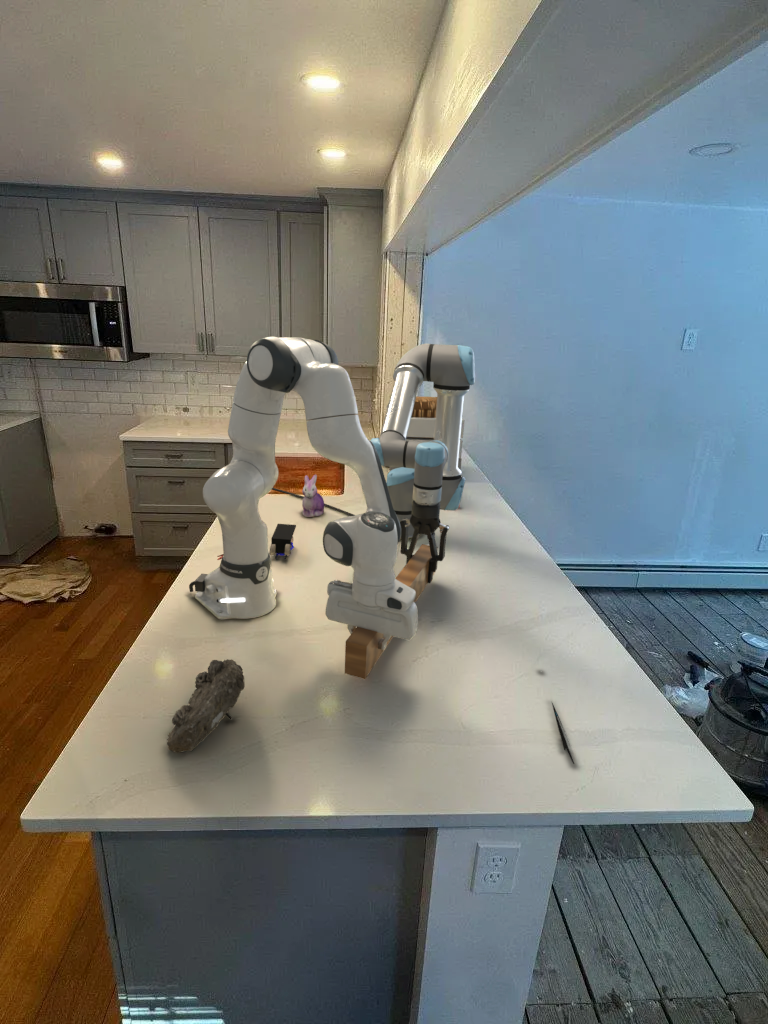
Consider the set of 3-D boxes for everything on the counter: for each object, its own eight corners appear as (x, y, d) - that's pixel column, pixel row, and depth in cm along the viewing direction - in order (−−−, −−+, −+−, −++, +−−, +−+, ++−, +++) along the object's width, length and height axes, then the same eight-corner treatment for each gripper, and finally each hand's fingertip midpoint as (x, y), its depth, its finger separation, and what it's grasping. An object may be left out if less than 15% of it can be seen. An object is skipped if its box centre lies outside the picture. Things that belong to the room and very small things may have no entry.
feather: (541, 676, 126) (546, 670, 126) (574, 768, 100) (581, 761, 99) (535, 672, 126) (540, 666, 126) (566, 764, 100) (573, 756, 99)
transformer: (382, 463, 289) (386, 382, 275) (445, 464, 293) (451, 384, 279) (390, 482, 257) (394, 392, 243) (460, 483, 261) (468, 394, 247)
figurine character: (291, 566, 174) (297, 542, 188) (290, 545, 171) (296, 522, 184) (269, 566, 174) (276, 541, 187) (268, 544, 171) (275, 521, 184)
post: (420, 568, 167) (422, 543, 164) (435, 571, 166) (437, 546, 163) (344, 673, 119) (345, 641, 116) (365, 679, 117) (366, 646, 114)
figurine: (305, 519, 209) (305, 480, 204) (296, 510, 217) (296, 472, 212) (329, 516, 213) (330, 478, 208) (319, 507, 222) (319, 470, 216)
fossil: (192, 660, 117) (244, 628, 112) (224, 691, 120) (276, 661, 115) (142, 746, 98) (202, 712, 93) (182, 779, 101) (242, 748, 96)
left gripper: (321, 584, 119) (319, 640, 124) (414, 606, 113) (408, 664, 118) (334, 572, 125) (331, 626, 130) (423, 592, 119) (417, 648, 124)
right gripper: (390, 500, 151) (386, 578, 159) (456, 510, 145) (448, 591, 153) (399, 492, 157) (394, 567, 165) (462, 502, 152) (454, 579, 160)
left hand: (369, 644), depth 124 cm, fingers closed on post, 5 cm apart
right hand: (420, 579), depth 159 cm, fingers closed on post, 5 cm apart
